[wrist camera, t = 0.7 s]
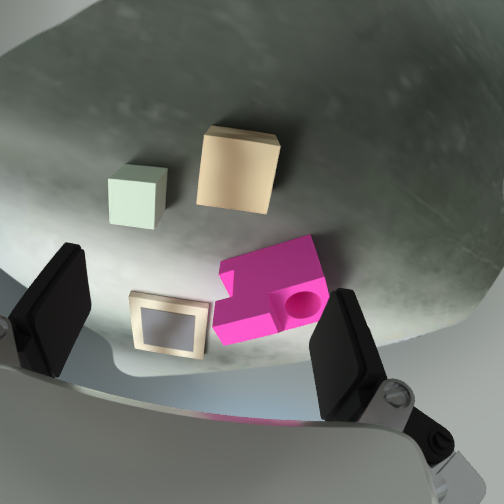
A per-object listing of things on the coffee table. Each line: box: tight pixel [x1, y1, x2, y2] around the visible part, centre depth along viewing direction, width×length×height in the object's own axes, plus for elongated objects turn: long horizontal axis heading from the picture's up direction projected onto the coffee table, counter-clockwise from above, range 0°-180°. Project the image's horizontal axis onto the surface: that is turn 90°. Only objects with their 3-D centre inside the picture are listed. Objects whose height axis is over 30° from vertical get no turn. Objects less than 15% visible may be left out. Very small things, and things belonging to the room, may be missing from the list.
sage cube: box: [108, 164, 168, 229], centre depth 29 cm, size 4×4×4 cm
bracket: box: [212, 234, 330, 345], centre depth 33 cm, size 12×10×10 cm
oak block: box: [197, 125, 281, 214], centre depth 27 cm, size 6×6×5 cm
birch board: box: [129, 291, 209, 359], centre depth 40 cm, size 10×10×1 cm
